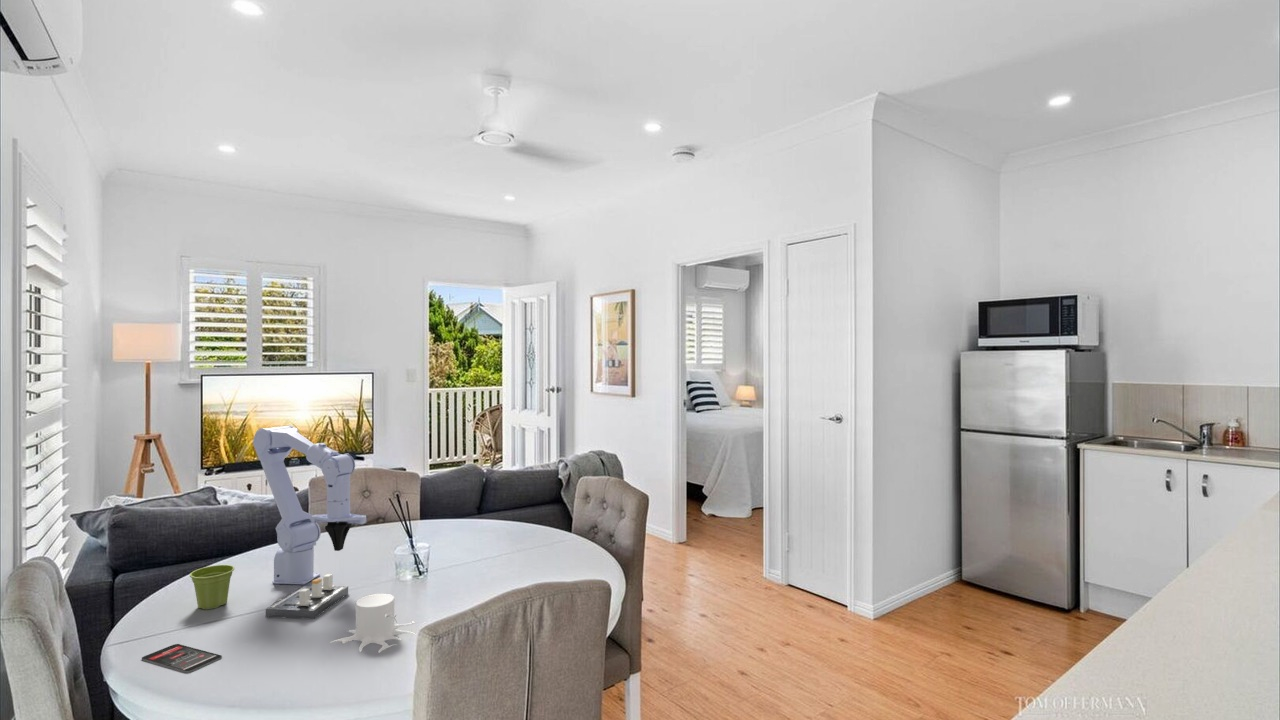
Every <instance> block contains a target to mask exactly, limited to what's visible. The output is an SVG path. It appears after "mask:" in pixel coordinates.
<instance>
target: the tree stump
mask: <svg viewBox="0 0 1280 720" xmlns="http://www.w3.org/2000/svg"><path fill="white" fill-rule="evenodd" d="M396 616H397V614H395V595H392V594H389V593H374V594H369V595H365V596H363V597H360V598H358V599H357V600H356V602H355V629H348V630H349V631H351V632H353V633H355V634H353V633H352V634H353V635H351V636H347V637H346V636H345V637H342V638H338V639H335V640H332V641H331V643H335V641H336V642H342V643H341V644H346V643H349V642H353V641H352V640H354V641H359V640H360V641H359V642H361V643H360V645H359V647H358V650H359V652H360V653H361V652H362V650H363V648H364V647H366V646H368V645H369V644H377V645H381V647H380V649H378V651H377V652H378V653H379V654H380V653H381V652H383V651H384V650H386V649H389V648H391V647H392V646H398V644H395V643H393V644H391V645H389V644H388V643H387V642H386V641H389V640H398V641H402V638H400V637H397V636H398V635H401V634H402V633H403V634H412V633H413V635H416V634H415V632H412V631H410V630H409V631H408V630H400V629H398V627H399V628H401V627H405V626H404V625H406V626H410V625H409V624H411V625H413V624H412V623H415V622H414V621H412V623H411V622H409V623H399V624H398V622H397V619H396ZM424 623H425V624H426V622H424ZM415 624H416V623H415ZM400 626H401V627H400ZM351 632H350V633H351ZM396 635H397V636H396ZM348 641H349V642H348Z"/></svg>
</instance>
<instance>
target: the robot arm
mask: <svg viewBox="0 0 1280 720" xmlns="http://www.w3.org/2000/svg"><path fill="white" fill-rule="evenodd" d="M299 431H300V430H299V429H298V428H297V427H295V426H293V425H291V424H288V425H285V426H275V427H267V428H266V427H265V428H264V427H261V428H258V429H257V430H256V431H255V434H254V436H253V440H252V445H253V447H254V450H255V453H256V456H257V458H258V460H259V461H260V465H261V467H262V470H263V473H264V474H265V475H264V476H265V478H266V480H267V483H268V485H269V488H270V490H271V493H272V496H273V498H274V501H275V504H276V506H277V508H278V509H277V510H278V512H279V514H280V516H281V519H280V521H279V522H278V523H277V525H276V526H275V531H276V532H275V533H276V536H277V538H276V539H277V540H276V541H277V544H278V546H279V548H278V550H277V551H276V553H275V554H274V558H273V581H272V582H271V584H277V585H284V584H285V585H307V584H308V583H309V582H312V581H313V580H315V579H317V578H318V577H320V575H321V572H314V571H315V570H314V569H315V568H314V560H315V559H314V557H315V556H314V555H315V554H314V551H315V549H314V547H315V546H317V542H318V541H319V540H320V538H321V533H322V531H321V527H320V525H319V524H326V525H325V526H324V528H325V531H326V532H327V534H328V535H329V538H330V539H331V540H330V541H331V542H332V543H331V544H332V545H333V550H334V551H335V552H336V551H337V552H339V551H341V550H342V551H343V549H344V547H345V546H344V545H345V541H346V538H347V536H348V533H349V531H350V528H352V525H353V524H359V525H364V524H366V523H367V515H366V514H365V515H363V514H355V513H351V474H352V473H353V472H355V468H356V461H355V459H354V457H353V456H352V455H351V454H350V453H343V454H342V453H339V452H338V450H334V449H332V448H330V447H328V446H327V444H326V443H325V442H318V443H313V442H312V441H310V440H309V439H307V437H305V436H303V435H302V434H301V433H299ZM292 450H295V451H297V452H299V453H301V454H303V455H305V458H306V460H307V461H308V463H311V465H314V466H316V467H317V468H319V469H321V472H322V474H323V476H324V482H325V484H326V514H314V515H313V514H311V513H308V512H306V511H304V510H303V508H302V505H301V502H300V501H299V498H298V496H297V493H296V490H295V488H294V485H293V483H292V480H291V477H290V474H289V472H288V469H287V467H286V464H285V462H284V461H285V458H287V457H288V456H289V455H290V454H291V452H292Z"/></svg>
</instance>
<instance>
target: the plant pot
mask: <svg viewBox="0 0 1280 720" xmlns="http://www.w3.org/2000/svg"><path fill="white" fill-rule="evenodd" d="M234 570H235V566H233V565H231V564H216V565H211V566H206V567H205V566H204V567H201V568H198V569H195V570H193V571H192V572H190V573H189V577H190V578H191V581H192V583H193V586H194V590H195V591H194V592H195V597H196V604H197V608H198V609H203V610H210V609H216V608H219V607H221V606H225V605H226V604H227V603H228V598H229V591H230V584H231V577H232V575H233V572H234Z"/></svg>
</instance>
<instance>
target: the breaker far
mask: <svg viewBox="0 0 1280 720" xmlns="http://www.w3.org/2000/svg"><path fill="white" fill-rule="evenodd" d="M333 576H334V575H333V574H332V573H327V574H325V575H323V576H322V577H323V579H322V586H323V587H322V590H331V589H333V588H334V587H335V586H336V585H334V584H333V578H334V577H333Z"/></svg>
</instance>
